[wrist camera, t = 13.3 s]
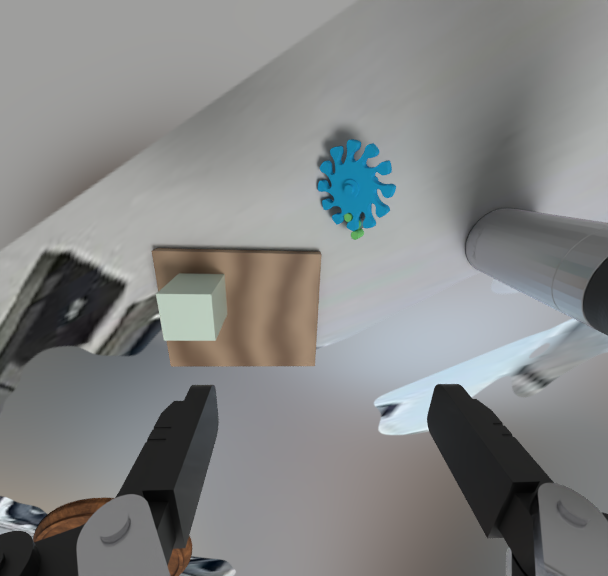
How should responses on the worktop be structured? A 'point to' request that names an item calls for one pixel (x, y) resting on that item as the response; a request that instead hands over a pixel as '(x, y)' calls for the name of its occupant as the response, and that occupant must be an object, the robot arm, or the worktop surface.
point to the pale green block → (192, 307)
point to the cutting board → (79, 515)
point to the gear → (355, 187)
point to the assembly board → (251, 306)
